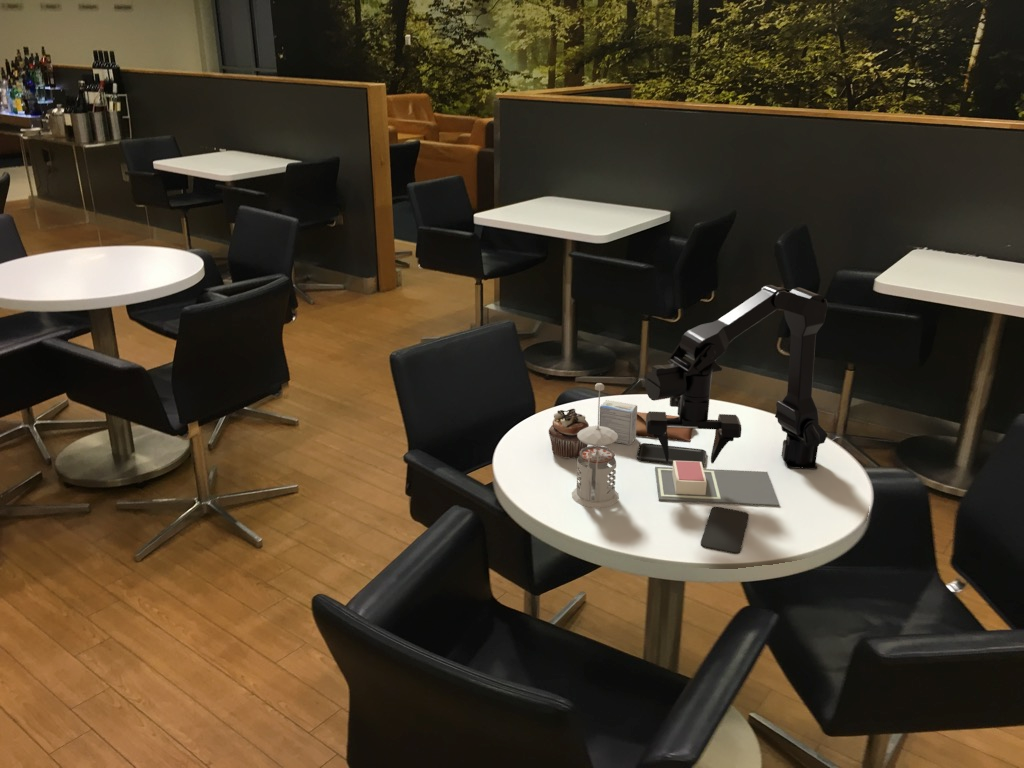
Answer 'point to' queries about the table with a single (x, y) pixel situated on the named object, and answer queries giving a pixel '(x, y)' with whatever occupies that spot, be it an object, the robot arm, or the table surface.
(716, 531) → the phone
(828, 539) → the table surface
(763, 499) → the mat
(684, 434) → the sunglasses case
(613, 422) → the medicine box
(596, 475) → the french press
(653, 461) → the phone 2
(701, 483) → the card deck
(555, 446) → the cupcake
